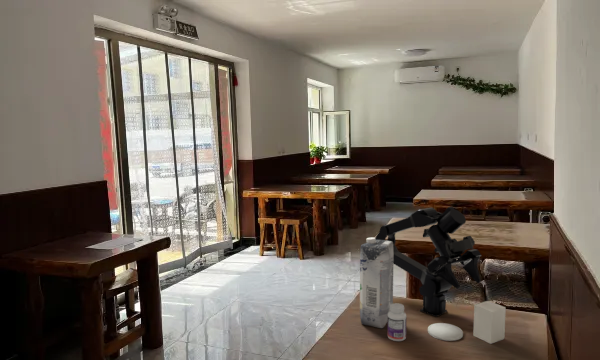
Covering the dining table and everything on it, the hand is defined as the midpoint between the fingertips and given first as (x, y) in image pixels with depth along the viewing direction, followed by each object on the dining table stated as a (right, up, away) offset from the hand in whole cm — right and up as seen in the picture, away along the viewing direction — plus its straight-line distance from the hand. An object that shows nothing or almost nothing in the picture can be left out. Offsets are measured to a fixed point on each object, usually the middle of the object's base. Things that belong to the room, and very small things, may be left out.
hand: (469, 285), depth 138 cm
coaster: (-8, -14, -2) cm, 16 cm away
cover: (+4, -14, -5) cm, 15 cm away
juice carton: (-27, -13, +7) cm, 31 cm away
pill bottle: (-23, -15, -4) cm, 28 cm away
